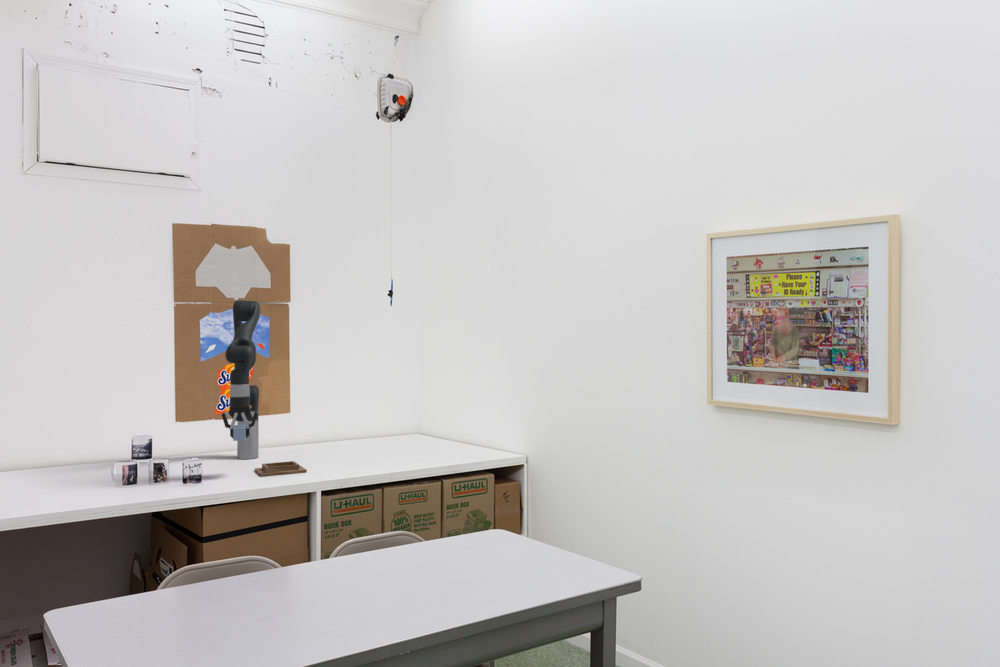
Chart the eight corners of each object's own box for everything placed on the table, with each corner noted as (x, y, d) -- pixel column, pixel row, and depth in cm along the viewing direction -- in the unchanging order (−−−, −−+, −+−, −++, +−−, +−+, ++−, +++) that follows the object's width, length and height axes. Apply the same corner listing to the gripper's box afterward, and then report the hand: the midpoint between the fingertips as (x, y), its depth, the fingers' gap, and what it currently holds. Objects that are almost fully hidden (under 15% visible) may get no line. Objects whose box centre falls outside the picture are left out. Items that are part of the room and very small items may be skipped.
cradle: (254, 470, 292) (254, 463, 292) (298, 466, 300) (298, 459, 300) (260, 476, 279) (260, 469, 279) (306, 472, 288) (306, 465, 288)
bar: (234, 437, 286) (234, 425, 286) (246, 437, 287) (246, 424, 287) (233, 440, 277) (233, 428, 277) (245, 440, 279) (245, 427, 279)
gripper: (259, 394, 288) (259, 435, 288) (221, 394, 284) (221, 437, 284) (258, 395, 281) (258, 438, 281) (219, 396, 277) (219, 440, 277)
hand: (239, 437), depth 282 cm, fingers closed on bar, 4 cm apart
